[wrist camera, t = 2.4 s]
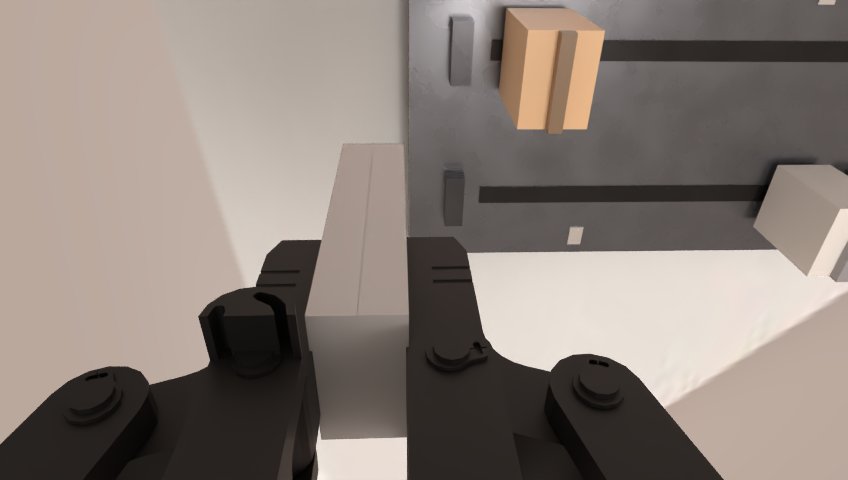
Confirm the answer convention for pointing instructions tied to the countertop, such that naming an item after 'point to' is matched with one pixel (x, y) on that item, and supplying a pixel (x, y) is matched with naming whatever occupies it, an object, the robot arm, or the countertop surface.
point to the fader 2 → (808, 218)
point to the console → (625, 125)
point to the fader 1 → (549, 68)
